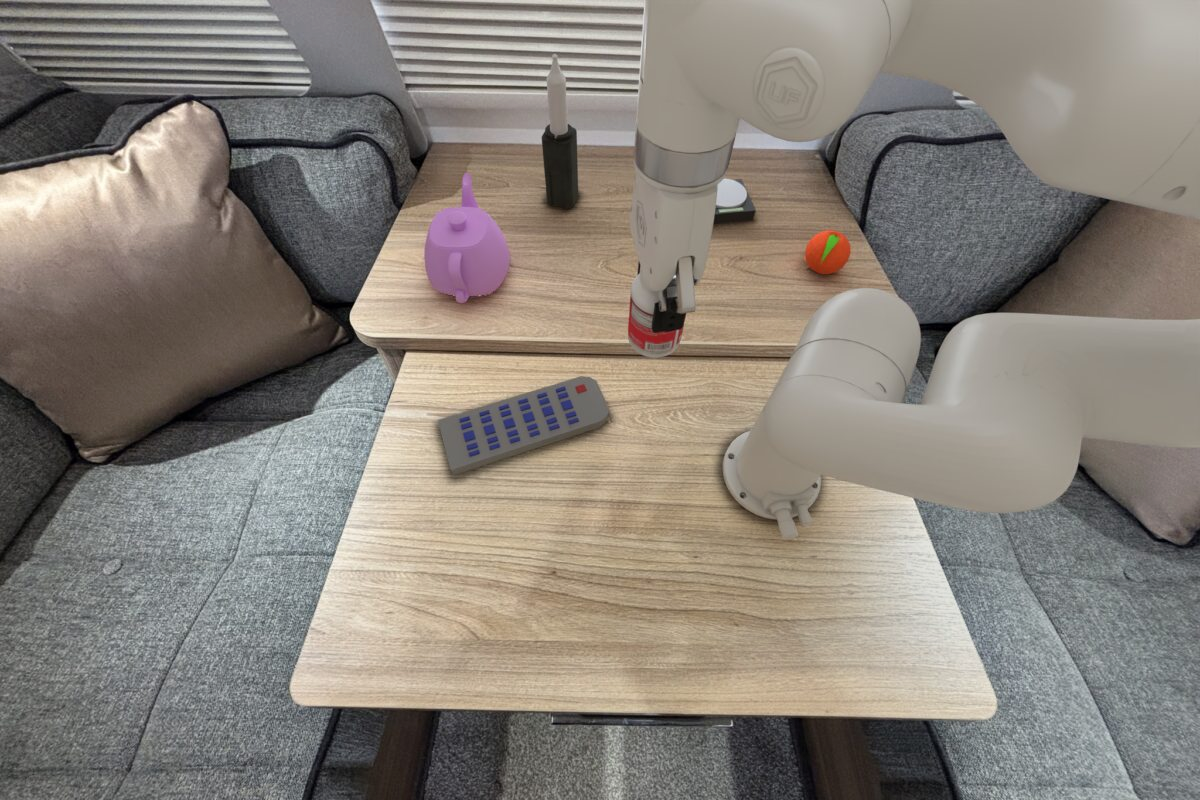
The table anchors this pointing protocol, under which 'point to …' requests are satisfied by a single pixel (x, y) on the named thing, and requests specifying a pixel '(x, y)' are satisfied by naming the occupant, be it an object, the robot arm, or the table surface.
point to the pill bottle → (649, 321)
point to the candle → (559, 144)
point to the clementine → (827, 252)
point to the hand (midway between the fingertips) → (659, 302)
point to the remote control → (522, 423)
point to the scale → (733, 202)
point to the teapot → (465, 249)
